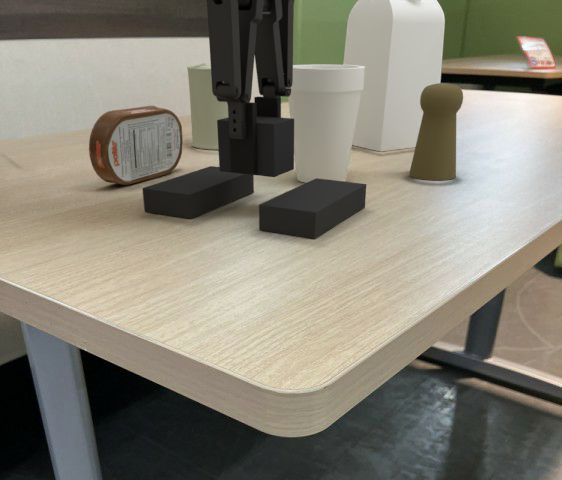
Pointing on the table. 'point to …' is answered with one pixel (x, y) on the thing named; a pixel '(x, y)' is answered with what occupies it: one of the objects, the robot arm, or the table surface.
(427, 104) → the olive knobbed tapered post
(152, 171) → the tin
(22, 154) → the table surface
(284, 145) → the black rectangular block
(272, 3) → the robot arm
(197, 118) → the can
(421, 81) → the milk
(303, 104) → the foam cup
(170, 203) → the pad pair
